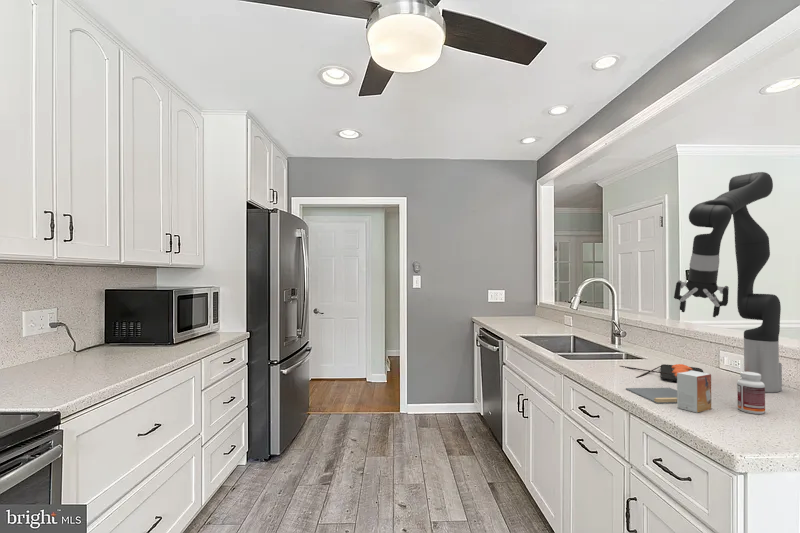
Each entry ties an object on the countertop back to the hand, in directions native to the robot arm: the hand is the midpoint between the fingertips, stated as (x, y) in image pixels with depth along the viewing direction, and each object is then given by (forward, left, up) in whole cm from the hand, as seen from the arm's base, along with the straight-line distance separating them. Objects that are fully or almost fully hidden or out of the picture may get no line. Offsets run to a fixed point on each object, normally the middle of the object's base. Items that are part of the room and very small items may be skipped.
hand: (698, 313), depth 138 cm
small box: (+12, +13, -27) cm, 33 cm away
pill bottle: (-3, +16, -27) cm, 32 cm away
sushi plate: (-8, -30, -28) cm, 41 cm away
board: (+12, 0, -27) cm, 30 cm away
